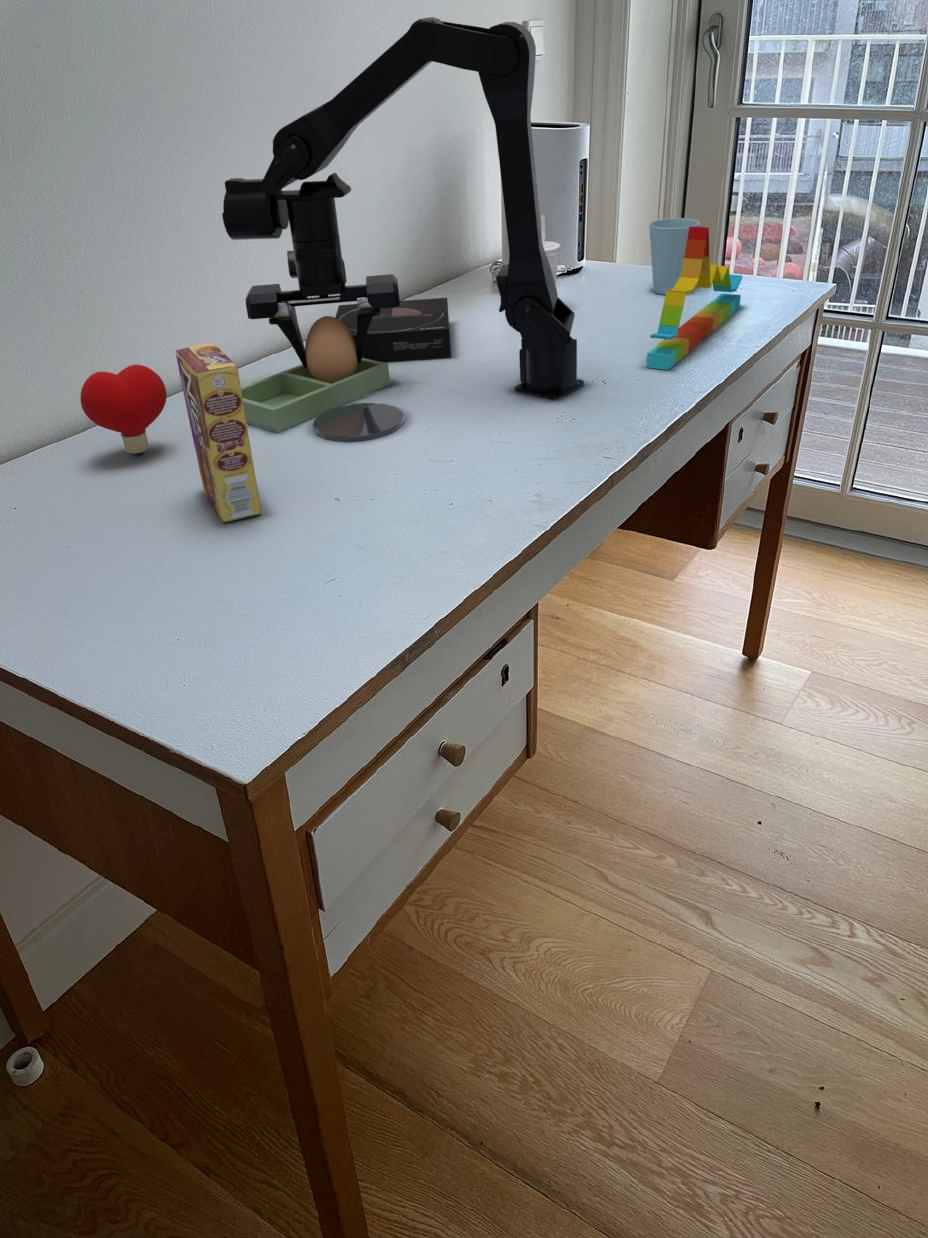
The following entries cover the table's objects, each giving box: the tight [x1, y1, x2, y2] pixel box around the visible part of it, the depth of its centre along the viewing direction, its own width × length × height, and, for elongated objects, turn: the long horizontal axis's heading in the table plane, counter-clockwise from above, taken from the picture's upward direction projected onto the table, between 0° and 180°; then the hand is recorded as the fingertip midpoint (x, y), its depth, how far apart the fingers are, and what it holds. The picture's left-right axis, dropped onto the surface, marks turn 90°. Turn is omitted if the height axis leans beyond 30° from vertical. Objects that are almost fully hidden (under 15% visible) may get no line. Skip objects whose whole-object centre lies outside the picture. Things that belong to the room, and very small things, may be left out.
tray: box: [241, 358, 391, 434], centre depth 124 cm, size 10×19×3 cm, turn 140°
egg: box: [304, 315, 357, 384], centre depth 125 cm, size 7×7×9 cm
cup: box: [648, 217, 701, 296], centre depth 155 cm, size 8×8×10 cm
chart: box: [645, 226, 743, 371], centre depth 134 cm, size 30×3×15 cm, turn 150°
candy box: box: [174, 343, 262, 523], centre depth 96 cm, size 9×4×15 cm, turn 26°
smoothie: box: [540, 214, 562, 285], centre depth 149 cm, size 6×6×14 cm
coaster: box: [312, 402, 405, 442], centre depth 117 cm, size 11×11×1 cm
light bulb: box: [79, 364, 168, 457], centre depth 110 cm, size 9×7×10 cm
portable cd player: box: [334, 297, 452, 363], centre depth 142 cm, size 16×17×4 cm
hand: (333, 364), depth 126 cm, fingers closed on egg, 6 cm apart
